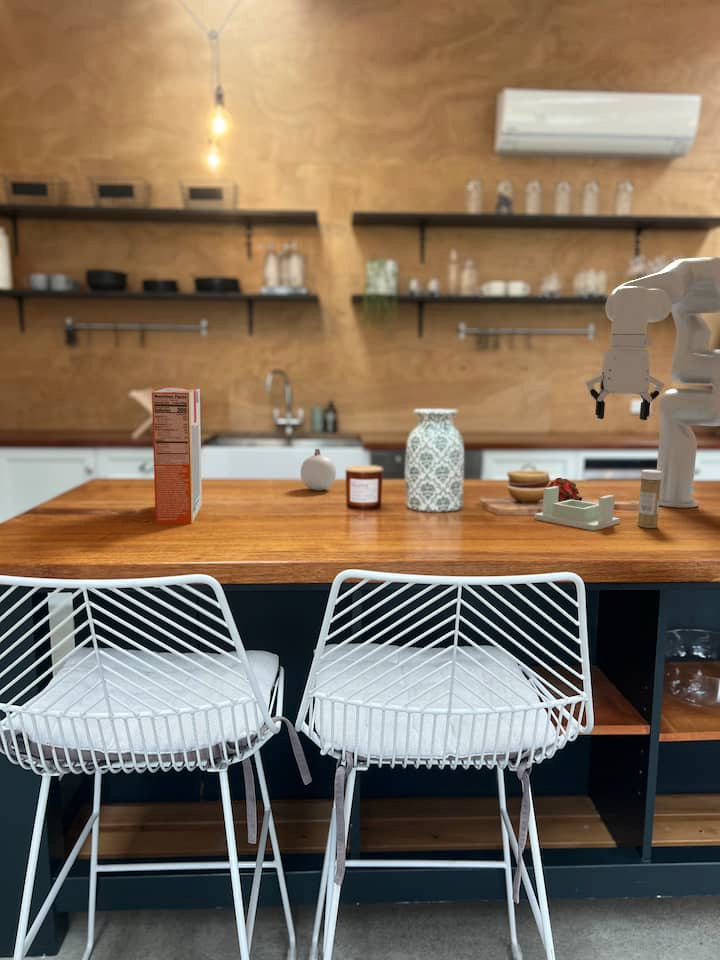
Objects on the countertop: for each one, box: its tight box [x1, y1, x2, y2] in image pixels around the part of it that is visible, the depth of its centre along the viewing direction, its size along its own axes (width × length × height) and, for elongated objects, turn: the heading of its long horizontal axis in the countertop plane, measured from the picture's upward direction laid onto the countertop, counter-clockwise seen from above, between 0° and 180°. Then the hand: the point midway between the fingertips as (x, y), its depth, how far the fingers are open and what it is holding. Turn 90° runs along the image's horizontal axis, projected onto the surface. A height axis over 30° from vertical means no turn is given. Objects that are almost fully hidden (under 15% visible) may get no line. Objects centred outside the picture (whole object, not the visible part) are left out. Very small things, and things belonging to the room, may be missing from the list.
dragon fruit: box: [546, 477, 583, 502], centre depth 192 cm, size 8×8×12 cm
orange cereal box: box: [151, 387, 203, 525], centre depth 175 cm, size 23×8×30 cm, turn 6°
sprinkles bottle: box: [636, 469, 662, 529], centre depth 171 cm, size 5×5×14 cm
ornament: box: [300, 448, 337, 491], centre depth 211 cm, size 10×10×12 cm
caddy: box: [534, 486, 620, 532], centre depth 176 cm, size 12×16×7 cm
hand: (621, 419), depth 166 cm, fingers open, 9 cm apart
